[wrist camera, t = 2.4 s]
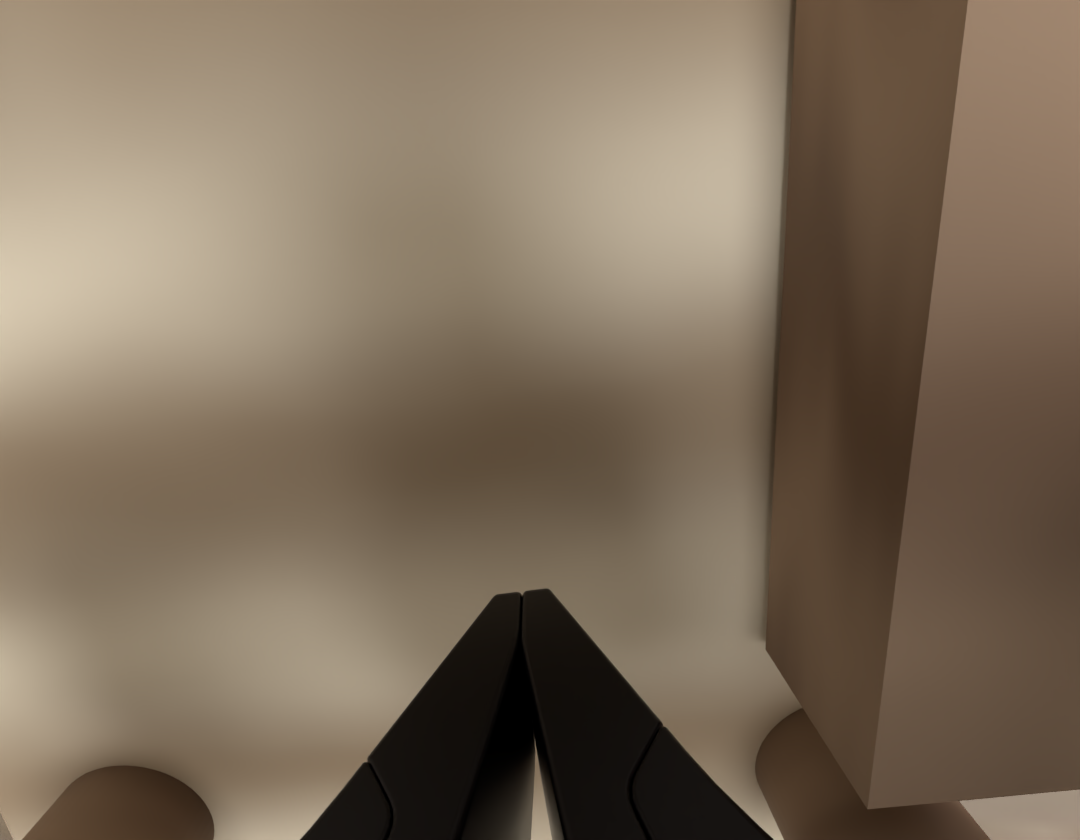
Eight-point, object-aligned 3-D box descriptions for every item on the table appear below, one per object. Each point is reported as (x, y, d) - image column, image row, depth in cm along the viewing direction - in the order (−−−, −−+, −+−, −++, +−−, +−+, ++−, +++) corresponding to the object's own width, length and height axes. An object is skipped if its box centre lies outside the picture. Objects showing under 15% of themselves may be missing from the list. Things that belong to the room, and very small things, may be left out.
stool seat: (851, 723, 14) (1139, 1122, 8) (148, 789, 14) (-186, 1258, 8) (945, -159, 9) (2136, -1352, 2) (-176, -77, 9) (-2311, -1128, 2)
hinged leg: (805, -204, 6) (1040, -590, 3) (1053, -222, 6) (1489, -621, 4) (765, 648, 10) (866, 808, 7) (926, 634, 10) (1095, 787, 7)
